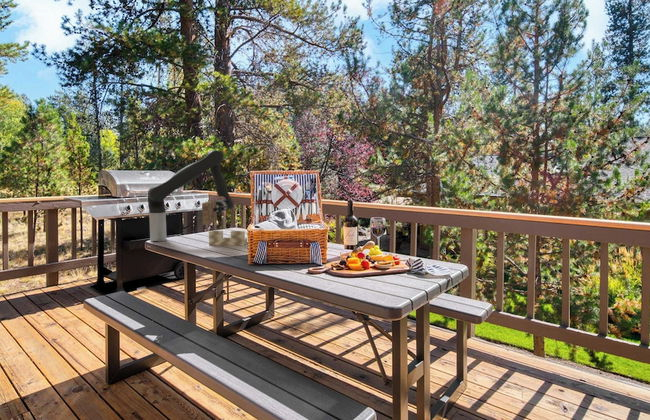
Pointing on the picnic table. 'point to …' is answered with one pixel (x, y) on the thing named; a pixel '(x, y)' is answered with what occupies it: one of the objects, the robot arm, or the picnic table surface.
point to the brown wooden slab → (208, 212)
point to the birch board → (218, 239)
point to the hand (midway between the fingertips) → (211, 209)
